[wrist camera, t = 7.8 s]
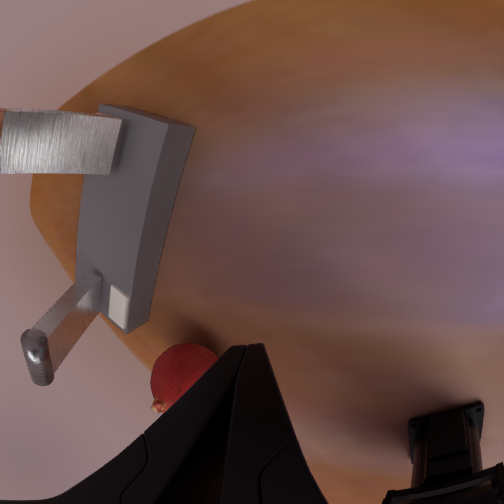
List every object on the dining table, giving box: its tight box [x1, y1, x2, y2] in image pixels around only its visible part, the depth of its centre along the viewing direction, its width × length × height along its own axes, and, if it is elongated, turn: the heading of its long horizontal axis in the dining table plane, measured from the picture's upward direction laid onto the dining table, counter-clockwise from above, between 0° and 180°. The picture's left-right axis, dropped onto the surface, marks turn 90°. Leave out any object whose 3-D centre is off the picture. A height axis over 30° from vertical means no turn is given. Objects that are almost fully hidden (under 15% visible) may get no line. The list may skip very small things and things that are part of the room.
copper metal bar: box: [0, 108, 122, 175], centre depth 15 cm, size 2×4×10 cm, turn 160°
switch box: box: [75, 104, 196, 335], centre depth 23 cm, size 8×18×3 cm, turn 160°
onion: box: [150, 343, 219, 413], centre depth 21 cm, size 6×6×8 cm
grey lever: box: [21, 271, 101, 386], centre depth 19 cm, size 2×4×10 cm, turn 159°
